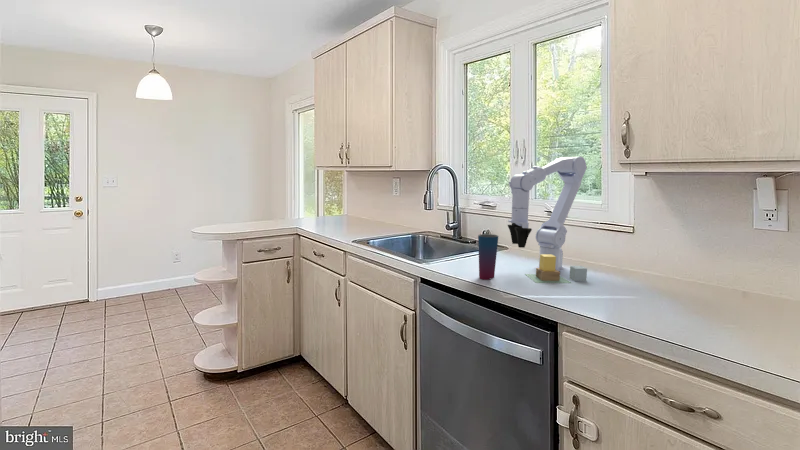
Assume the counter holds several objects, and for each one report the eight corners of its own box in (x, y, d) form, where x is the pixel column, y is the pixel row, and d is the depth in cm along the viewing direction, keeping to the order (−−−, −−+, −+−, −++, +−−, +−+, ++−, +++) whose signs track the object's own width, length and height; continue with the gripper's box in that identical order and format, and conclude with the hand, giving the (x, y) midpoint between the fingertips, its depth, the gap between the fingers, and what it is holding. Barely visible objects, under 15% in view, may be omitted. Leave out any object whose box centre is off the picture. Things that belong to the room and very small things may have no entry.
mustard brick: (539, 268, 147) (540, 254, 146) (550, 268, 147) (551, 254, 146) (543, 271, 143) (544, 256, 142) (555, 271, 143) (556, 256, 142)
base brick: (535, 276, 148) (536, 267, 148) (552, 276, 148) (553, 267, 148) (541, 280, 142) (542, 271, 142) (559, 280, 142) (560, 271, 142)
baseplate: (524, 275, 151) (524, 274, 151) (557, 276, 151) (558, 274, 151) (535, 284, 139) (535, 282, 139) (571, 284, 139) (572, 283, 139)
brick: (569, 280, 146) (570, 265, 145) (580, 280, 146) (581, 266, 146) (574, 283, 142) (575, 268, 141) (586, 283, 142) (587, 268, 142)
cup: (496, 281, 143) (498, 237, 141) (476, 279, 144) (477, 236, 143) (496, 276, 150) (498, 234, 148) (477, 275, 151) (478, 233, 149)
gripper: (503, 206, 158) (502, 242, 160) (514, 209, 144) (513, 248, 146) (522, 206, 159) (520, 242, 160) (535, 209, 144) (533, 249, 146)
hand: (518, 245), depth 153 cm, fingers open, 7 cm apart
